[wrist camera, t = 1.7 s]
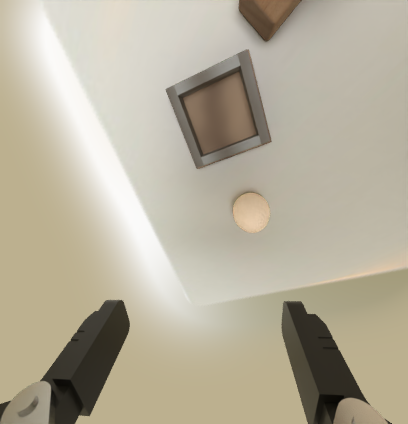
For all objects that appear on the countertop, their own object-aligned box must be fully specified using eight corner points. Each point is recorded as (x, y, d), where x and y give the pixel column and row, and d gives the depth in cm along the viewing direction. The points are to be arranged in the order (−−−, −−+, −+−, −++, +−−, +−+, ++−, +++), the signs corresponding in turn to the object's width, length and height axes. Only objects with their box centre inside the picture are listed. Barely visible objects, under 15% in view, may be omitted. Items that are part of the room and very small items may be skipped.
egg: (270, 207, 30) (282, 233, 23) (241, 221, 31) (245, 249, 24) (256, 180, 28) (264, 199, 21) (226, 196, 30) (225, 218, 23)
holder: (247, 52, 22) (250, 40, 19) (270, 141, 26) (275, 143, 23) (168, 91, 25) (159, 86, 22) (198, 167, 28) (194, 173, 25)
